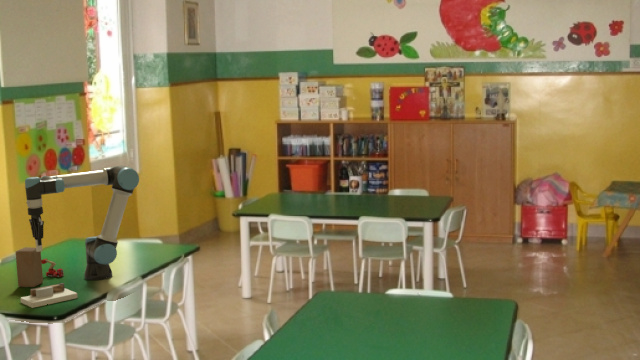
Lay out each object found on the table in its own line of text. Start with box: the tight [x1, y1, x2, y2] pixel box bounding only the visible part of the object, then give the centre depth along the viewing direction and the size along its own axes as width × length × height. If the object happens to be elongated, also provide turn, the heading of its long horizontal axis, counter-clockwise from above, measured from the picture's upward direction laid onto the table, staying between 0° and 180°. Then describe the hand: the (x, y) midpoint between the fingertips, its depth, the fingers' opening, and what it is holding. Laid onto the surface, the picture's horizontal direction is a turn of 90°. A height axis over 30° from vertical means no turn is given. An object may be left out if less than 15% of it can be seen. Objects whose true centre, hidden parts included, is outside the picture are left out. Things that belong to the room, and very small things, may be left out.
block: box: [15, 246, 44, 288], centre depth 467 cm, size 10×10×20 cm
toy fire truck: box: [41, 258, 65, 278], centre depth 486 cm, size 3×14×10 cm, turn 71°
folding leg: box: [29, 282, 65, 296], centre depth 441 cm, size 17×3×3 cm, turn 128°
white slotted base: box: [20, 286, 79, 309], centre depth 436 cm, size 24×14×6 cm, turn 131°
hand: (39, 251), depth 451 cm, fingers closed
